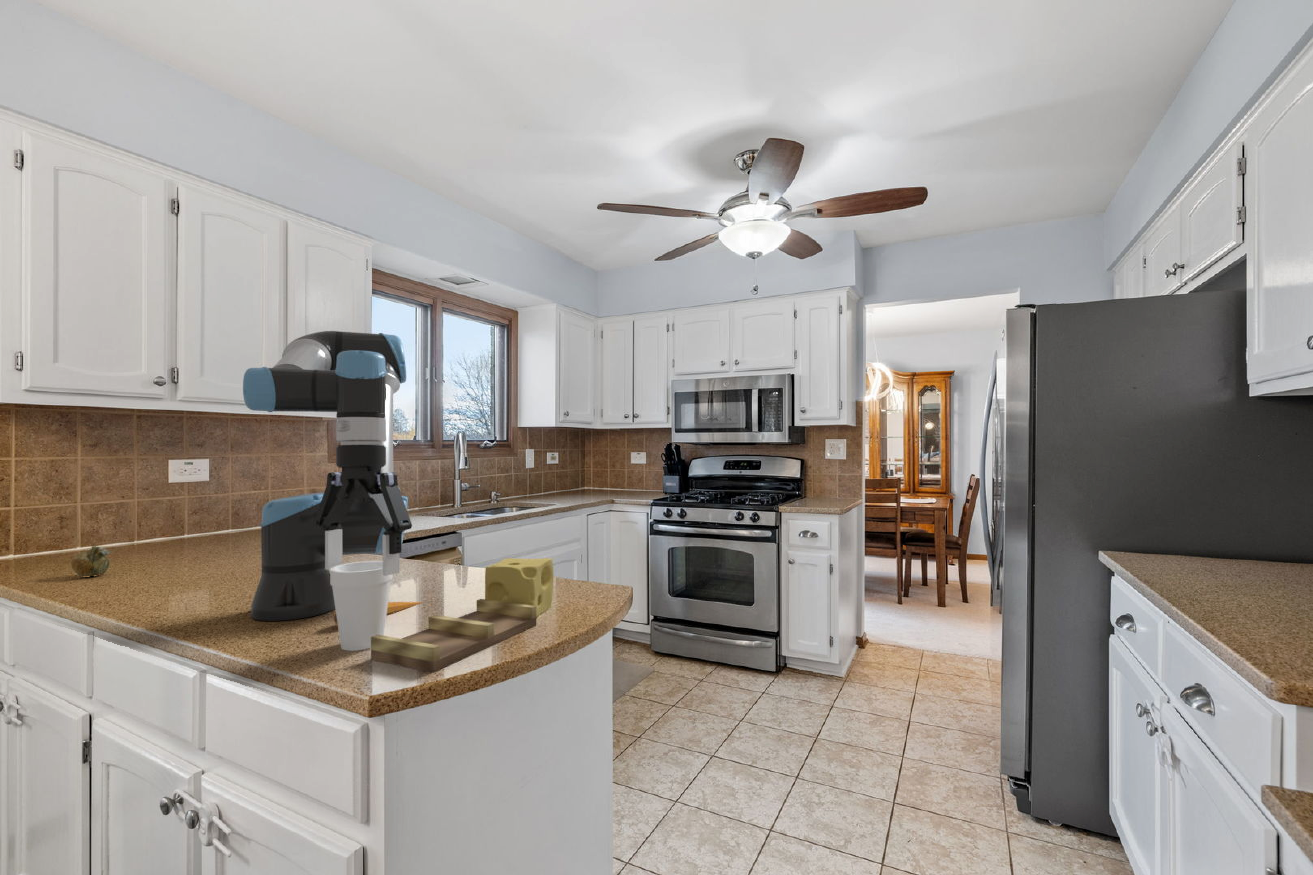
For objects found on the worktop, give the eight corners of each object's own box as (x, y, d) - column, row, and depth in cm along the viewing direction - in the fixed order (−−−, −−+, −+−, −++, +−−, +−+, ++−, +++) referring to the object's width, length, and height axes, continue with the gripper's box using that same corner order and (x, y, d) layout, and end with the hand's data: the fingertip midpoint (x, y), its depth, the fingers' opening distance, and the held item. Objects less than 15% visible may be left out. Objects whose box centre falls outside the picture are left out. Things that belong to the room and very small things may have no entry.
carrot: (340, 635, 109) (349, 612, 109) (326, 622, 111) (334, 600, 111) (425, 617, 127) (433, 597, 127) (412, 606, 129) (419, 587, 129)
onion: (112, 572, 162) (112, 542, 162) (110, 577, 155) (110, 545, 155) (73, 576, 157) (73, 545, 157) (68, 581, 151) (69, 549, 151)
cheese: (534, 621, 114) (534, 568, 115) (481, 618, 117) (481, 566, 117) (554, 606, 125) (554, 557, 125) (505, 604, 127) (505, 556, 127)
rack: (370, 659, 94) (370, 636, 94) (480, 616, 117) (480, 598, 117) (433, 672, 89) (433, 648, 89) (536, 625, 112) (536, 606, 112)
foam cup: (345, 636, 106) (345, 561, 106) (400, 634, 107) (400, 560, 107) (319, 654, 97) (319, 573, 97) (379, 653, 97) (379, 571, 97)
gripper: (291, 444, 104) (291, 569, 103) (397, 442, 93) (397, 581, 93) (331, 445, 111) (331, 562, 110) (434, 442, 100) (434, 572, 100)
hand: (361, 571), depth 101 cm, fingers open, 13 cm apart
